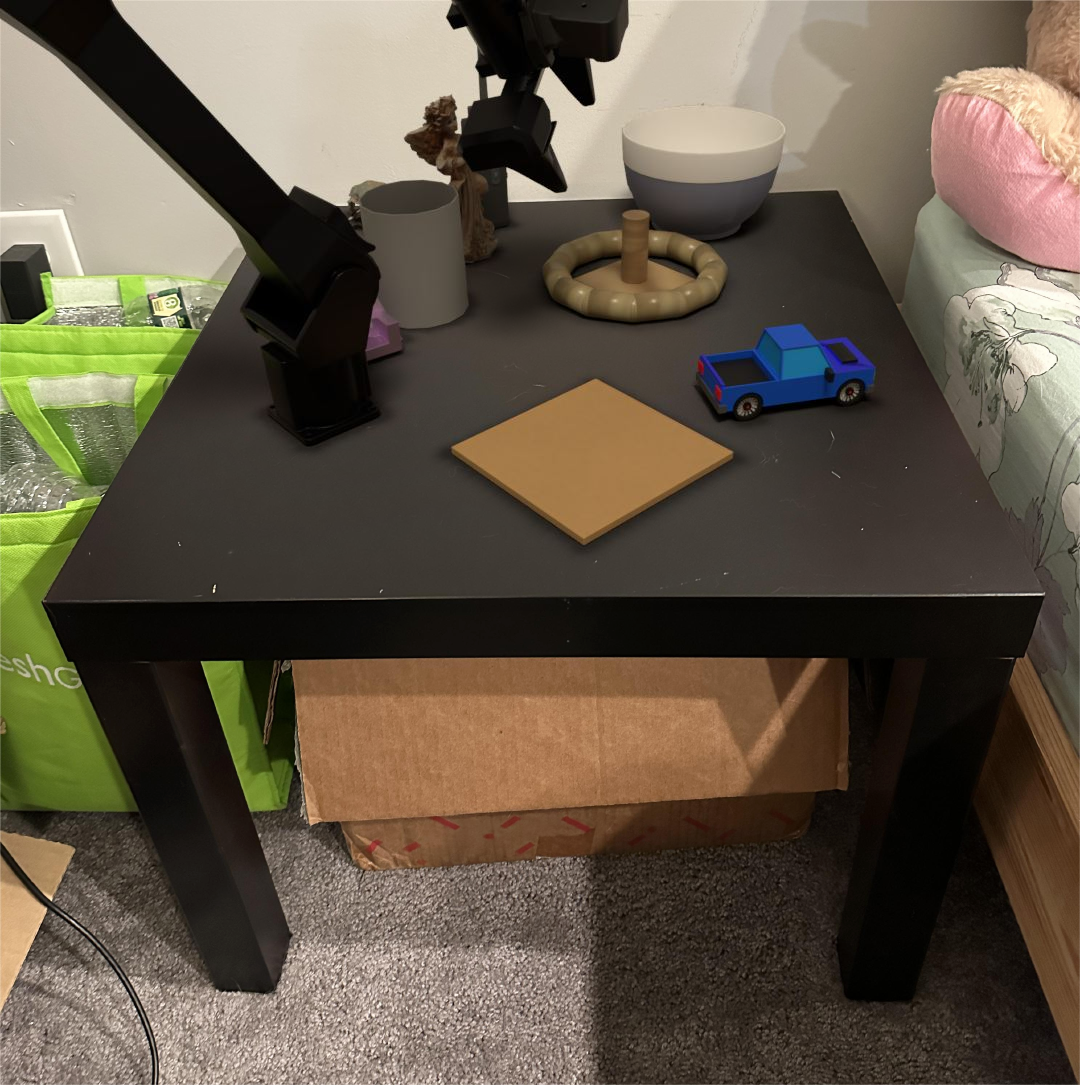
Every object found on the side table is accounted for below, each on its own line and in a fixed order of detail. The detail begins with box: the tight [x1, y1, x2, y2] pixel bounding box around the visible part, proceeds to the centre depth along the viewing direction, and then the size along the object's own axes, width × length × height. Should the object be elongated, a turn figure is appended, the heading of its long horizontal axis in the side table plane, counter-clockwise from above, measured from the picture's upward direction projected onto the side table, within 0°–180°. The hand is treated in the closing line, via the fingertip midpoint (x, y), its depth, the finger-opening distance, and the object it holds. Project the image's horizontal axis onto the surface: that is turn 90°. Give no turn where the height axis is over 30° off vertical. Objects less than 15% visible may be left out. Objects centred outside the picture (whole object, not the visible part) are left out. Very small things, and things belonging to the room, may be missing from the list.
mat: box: [450, 378, 734, 546], centre depth 67 cm, size 14×14×1 cm
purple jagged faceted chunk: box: [365, 298, 404, 362], centre depth 79 cm, size 8×7×6 cm
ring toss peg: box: [573, 209, 696, 294], centre depth 86 cm, size 8×8×7 cm
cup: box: [358, 179, 469, 330], centre depth 83 cm, size 8×8×10 cm
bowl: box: [621, 104, 787, 242], centre depth 96 cm, size 16×16×10 cm
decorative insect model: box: [346, 179, 387, 221], centre depth 101 cm, size 9×11×5 cm
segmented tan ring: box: [541, 229, 729, 323], centre depth 88 cm, size 17×17×2 cm
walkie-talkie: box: [460, 46, 510, 230], centre depth 95 cm, size 5×3×20 cm
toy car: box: [695, 323, 877, 422], centre depth 71 cm, size 7×12×5 cm, turn 101°
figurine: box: [403, 93, 499, 264], centre depth 90 cm, size 7×6×15 cm
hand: (576, 146), depth 76 cm, fingers open, 9 cm apart
